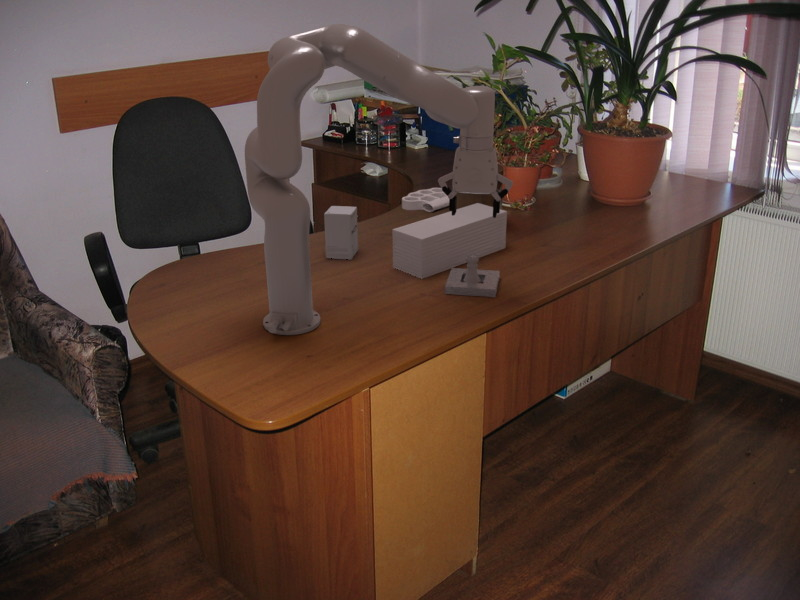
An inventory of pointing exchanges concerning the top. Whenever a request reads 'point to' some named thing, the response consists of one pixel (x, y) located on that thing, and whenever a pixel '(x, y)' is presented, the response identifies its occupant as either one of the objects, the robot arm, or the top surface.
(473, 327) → the top surface
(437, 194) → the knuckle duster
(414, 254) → the long grey block
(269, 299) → the robot arm
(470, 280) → the rook chess piece
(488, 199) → the wooden container
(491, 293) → the socket plate
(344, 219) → the supplement box
